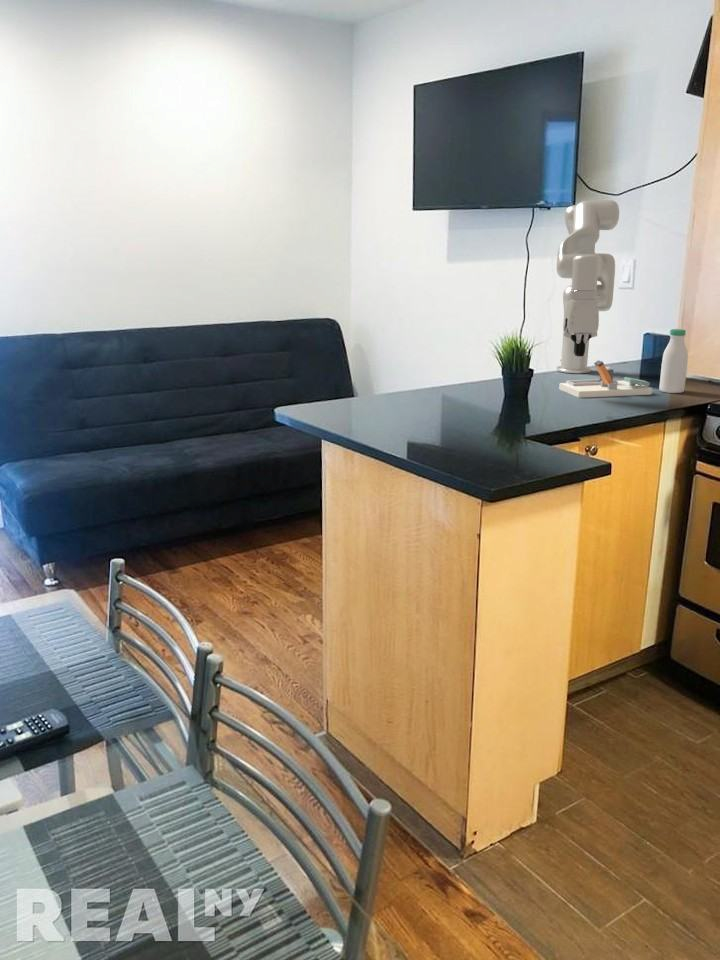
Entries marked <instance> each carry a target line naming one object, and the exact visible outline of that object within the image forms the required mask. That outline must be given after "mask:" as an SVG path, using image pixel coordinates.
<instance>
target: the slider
mask: <svg viewBox="0 0 720 960" xmlns="http://www.w3.org/2000/svg"><path fill="white" fill-rule="evenodd" d="M605 367H606V369H607V371H608V373H609V375H610V377H611V379H612V380H614V377H613V376H614V369H613V368H611V367H609V366H605ZM599 379H600V382H601V381H603V379H602V378H601V376H599Z"/></svg>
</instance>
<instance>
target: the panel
mask: <svg viewBox="0 0 720 960" xmlns="http://www.w3.org/2000/svg"><path fill="white" fill-rule="evenodd" d="M612 381H613V383H608V385H607V384H605V383H604V381H601V382H600V378H598V379H596V378H595V379H572V380H571V379H570V380H568V379H567V380H565V382H558V383H559V385H558V386H559V387H558V390H560V391H562V392H565V393H567V394H569V395H572V396H574V397H575V398H579V399H580V398H582V399H583V398H602V397H624V396H625V397H627V396H646V395H647V396H649V395H652V393H653V387H650V386H644V385H642V386H640V385H637V384H634V383H629V382H626V381H624V379H623V380H615V379H613V380H612Z"/></svg>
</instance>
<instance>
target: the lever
mask: <svg viewBox="0 0 720 960" xmlns="http://www.w3.org/2000/svg"><path fill="white" fill-rule="evenodd" d="M593 364H594V366H595V368H596V370H597V371H598V374H599V375H600V376H601V378H602V379H603V381H604V383H605V384H607V385H608V383H613V381H612V379H611V377H610V375H609V373H608V371H607V369H606V367H607V366H606V367H605V363H604V361H602V360H599V359H598V360H596V361H595V362H594V363H593ZM600 376H599V377H600Z"/></svg>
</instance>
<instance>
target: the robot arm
mask: <svg viewBox="0 0 720 960" xmlns="http://www.w3.org/2000/svg"><path fill="white" fill-rule="evenodd" d="M619 219H620V206H619V204H618V203H617V201H615V200H613V199H591V200H582V201H581V202H579V203H577V204H574V205H570V206H568V207H567V208H566V209H565V212H564V220H565V223H564V224H565V226H566V230H567V231H568V232H567V233H568V234H569V235H567V236H566V237H565V238H564V239H563V240H562V242H561V243H560V245H559V247H558V250H557V255H556V257H557V258H556V272H557V275H558V277H560V278H562V279H571V284H569V285H568V286H566V287H565V288H564V290H563V293H562V299H563V300H562V303H563V321H562V322H563V324H562V330H563V331H562V332H563V333H562V345H561V347H562V348H561V359H560V365H559V366H556V370H555V371H557V372H560V373H563V374H565V373H567V374H586V373H587V374H588V373H591V372H592V368H591V367H589V366H588V361H589V360H588V358H589V349H590V348H589V346H590V339H591V338H595V337H597V336H598V330H599V326H600V325H599V321H600V319H599V317H600V312H607V311H609V310H610V309H611V307H612V305H613V300H614V289H615V288H614V286H615V277H616V276H615V275H616V260H615V257H614V256H613V255H612V254H611V253H602V252H601V253H596V252H595V251H596V249H595V248H596V243H597V242H598V241H599V239H600V231H611V230H613V229H615V227H616V226H617V225H618V223H619ZM598 282H600V284H598Z"/></svg>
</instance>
